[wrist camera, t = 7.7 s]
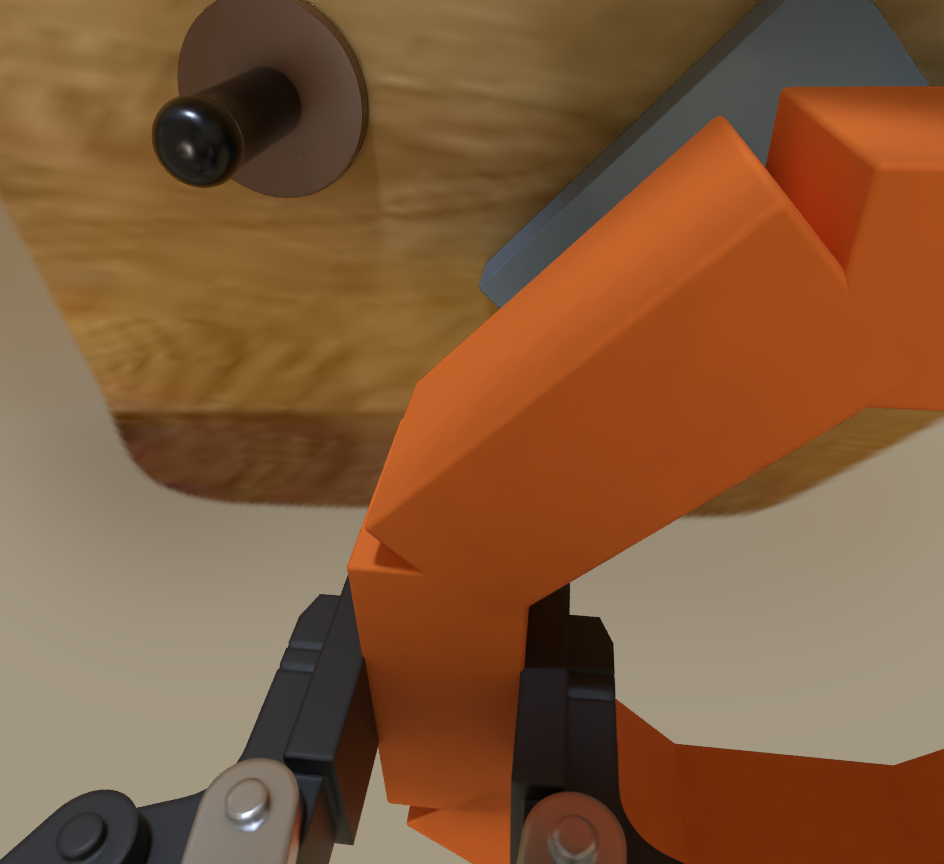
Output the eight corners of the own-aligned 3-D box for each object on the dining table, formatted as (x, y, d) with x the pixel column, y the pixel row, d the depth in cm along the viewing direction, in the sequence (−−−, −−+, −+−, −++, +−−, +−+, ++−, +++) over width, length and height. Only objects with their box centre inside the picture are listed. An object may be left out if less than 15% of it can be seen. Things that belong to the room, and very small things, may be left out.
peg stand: (250, -61, 24) (126, -57, 18) (406, 97, 26) (347, 153, 20) (154, 99, 28) (20, 152, 21) (299, 227, 30) (218, 312, 23)
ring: (1205, -325, 7) (1711, -532, 4) (1593, 626, 12) (1925, 856, 9) (248, 531, 15) (163, 683, 12) (735, 871, 20) (761, 1034, 17)
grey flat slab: (815, -52, 22) (839, -50, 20) (987, 200, 26) (1022, 223, 24) (484, 263, 30) (477, 288, 28) (654, 427, 33) (659, 459, 31)
